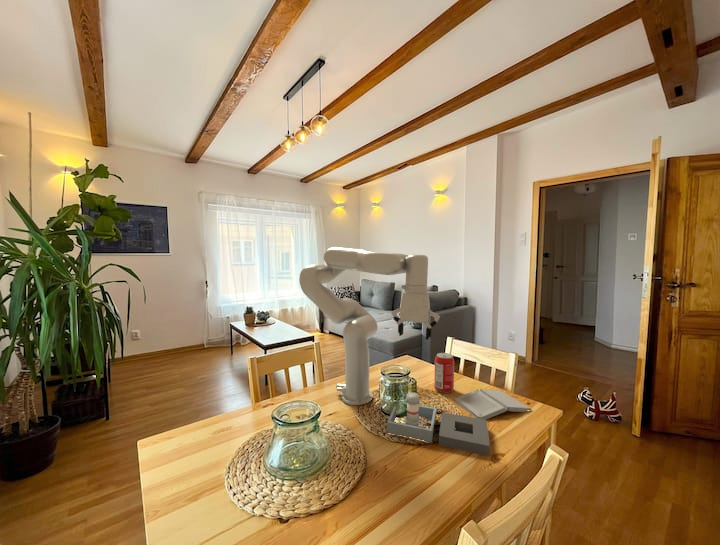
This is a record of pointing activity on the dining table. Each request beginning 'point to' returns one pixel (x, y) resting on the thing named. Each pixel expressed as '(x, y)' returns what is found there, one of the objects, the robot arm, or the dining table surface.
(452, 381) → the soda can
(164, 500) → the dining table surface
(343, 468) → the dining table surface
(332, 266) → the robot arm
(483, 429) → the grey flat square block
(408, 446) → the dining table surface
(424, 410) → the parts tray
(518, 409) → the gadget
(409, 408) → the cylinder
